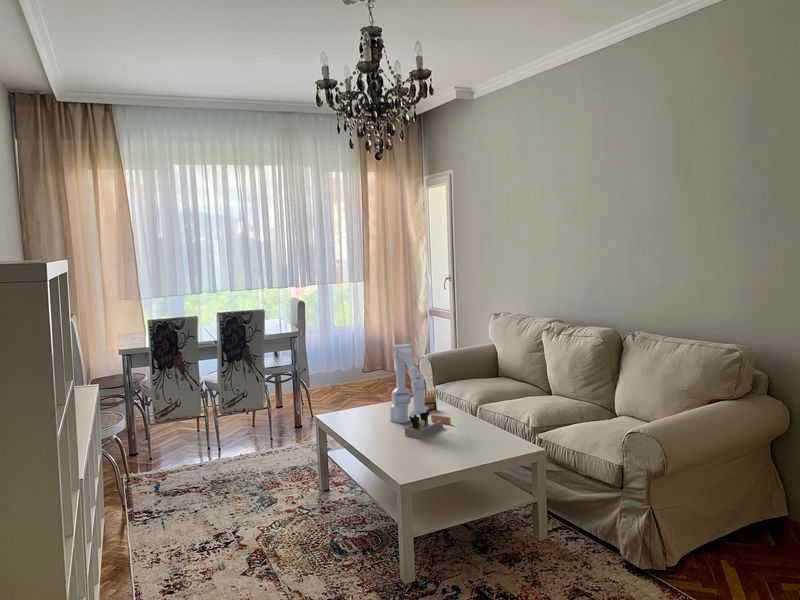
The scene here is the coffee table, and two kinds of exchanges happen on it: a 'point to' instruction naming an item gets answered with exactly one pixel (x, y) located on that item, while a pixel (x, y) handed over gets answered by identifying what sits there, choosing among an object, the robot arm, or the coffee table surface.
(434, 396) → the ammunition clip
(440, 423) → the tray
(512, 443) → the coffee table surface
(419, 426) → the block
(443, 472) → the coffee table surface
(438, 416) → the end cap
